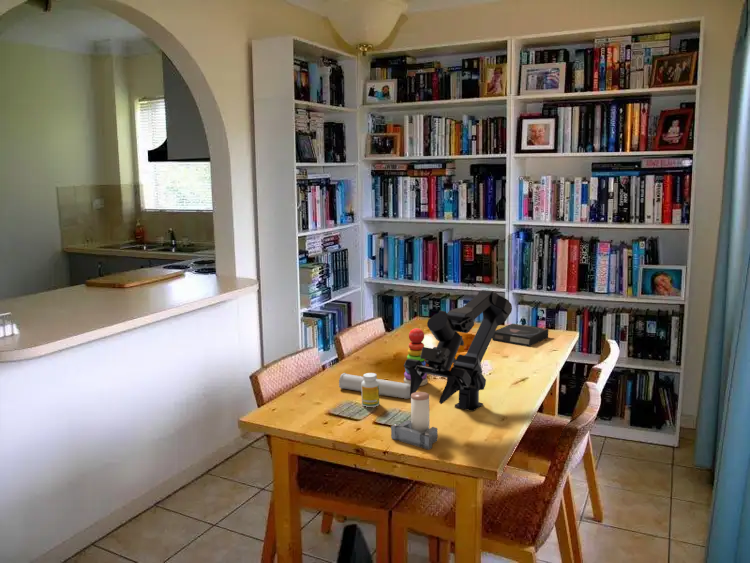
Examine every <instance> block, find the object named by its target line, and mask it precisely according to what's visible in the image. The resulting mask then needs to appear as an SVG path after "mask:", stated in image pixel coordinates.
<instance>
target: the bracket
mask: <svg viewBox="0 0 750 563" xmlns="http://www.w3.org/2000/svg"><path fill="white" fill-rule="evenodd" d="M390 429H391V430H390V433H391V435H390V436H391V438H392V440H395V441H398V440H399V442H402V443H404V444H408V445H411V446H415V447H418V448H421V449H424V450H431V449H432V448H433V444H434V443H436V442H438V437H439V436H438V427H435V426H432V427H429V429H428V430H427V431H425V432H419V431H416V430H412V429H411V419H408V420H405V421H403V422H402V423H400V424H398V423H394V424H392V425H391V426H390Z"/></svg>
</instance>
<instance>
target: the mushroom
mask: <svg viewBox="0 0 750 563" xmlns="http://www.w3.org/2000/svg"><path fill="white" fill-rule="evenodd" d="M410 418H411V419H410V421H411V429H412V430H416V431H419V432H425V431H427V430H428V429H430V393H428V392H425V391H416V392H415V393H412V394H411V398H410Z"/></svg>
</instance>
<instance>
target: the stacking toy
mask: <svg viewBox="0 0 750 563" xmlns="http://www.w3.org/2000/svg"><path fill="white" fill-rule="evenodd" d="M408 339H409V341H410V342H409V343H408V349H407V356H406V360H407V359H415V360H420V362H421V363H422V364H423V366H427V364H426V362H425V361H426V360H425V359H421V358H420V357H421V352H422V348H423V347H425V344H424V342H423V341H424V339H425V333H424V331H423V330H422V329H421V328H417V327H415V328H413V329H411V330H410V331H409V333H408ZM404 370H405V372H404V373H403V375H404V378H403V383H407V384H409V385H411V376H410V374H409V372H408V371H407V370H406V368H405V367H404ZM427 376H428V374H427V373H425V375H424V376H423V377H422V379H423V381H422V383H421V384H420V386H419V387H421V386H425V385H427V384H428V378H427Z"/></svg>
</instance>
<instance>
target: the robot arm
mask: <svg viewBox="0 0 750 563" xmlns="http://www.w3.org/2000/svg"><path fill="white" fill-rule="evenodd" d="M512 311H513V305H512V303H511V302H510V301H509V299H508V298H505V297H504V296H501V295H499V294H498V293H497V292H495V291H493V290H486V289H485V290H484V289H482V290H479V291H478V293H477V295H475V297H473V298H472V299H470V300H469V301H468V302H467V303H466V304H464V305H463V306H461V307H457V308H453V309H450V310H448V312H447V311H445V310H439V311H438V313H436V314H433V315H432V316H430V318H428V319H427V323H426V325H427V328H428V330H429V331H430V332H431V335H433V337H434V338H435V340H436V341H437V346H433V347H432V348H431V347H426V346H424V347H423V348H422V352H421V357H420V358H421V359H425V362H426V365H425V366H423V364H422V363H421V362H420V360H415V359H407V358H406V360H405V361H404V364H403V368H404V369H405V368H406V370H407V371H408V372H409V374H410V376H411V385H410V396H411V394H412V393H415V392H418V390H419V388H420V387H421V386H420V384H421V383H422V381H423V379H422V377H423V376H424V375H425V373H427V375H432V376H437V377H441V378H442V377H443V378H446V383H445V386H444V389H443V391H442V393H441V395H440V399H439V401H438V403H439V404H440V405H442V404H444V403H445V402H446V401H447V400H448V399H449V398H450V397H452V396H453V395H454V394H456V393H457V392H458V403H456V404H454V408H459V409H462V410H466V411H470V412H474V411H476V410H477V409H479V408H480V407H482V406H484V402H483V403H482V402H479V401H480V396H479V394H480V391H483V390H485V387H486V385H487V384H486V382H487V379H486V378H485V376H484V375H483V368H482V360H483V358H484V356H485V354H486V351H488V350H487V349H488V348H489V346H490V343H491V341H492V337H493V335H494V333H495V331H496V330H497V328H498V326H500V325H502V324H504V323H505V322H506V321H507V319H508V318H509V316H510V315H511V314H512ZM481 314H482V317H483V318H482V320H481V322H480V325H479V327H478V329H477V331H476V332H475V335H474V337H473V340H472V341H471V344H470V345H469V348H468V349H467V351H466V354H458V355H457V353H458V350H459V348H460V346H462V347H463V346H464V345H465V342H464V339H463V336H462V335H461V334H460V333H464V334H468V333H469V332H470V331H471V330H472V329H473V327H474V326H475V320H476V319H477V318H478V317H479V316H480V315H481ZM456 355H457V356H456ZM427 365H428V366H427ZM406 370H405V371H406Z"/></svg>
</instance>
